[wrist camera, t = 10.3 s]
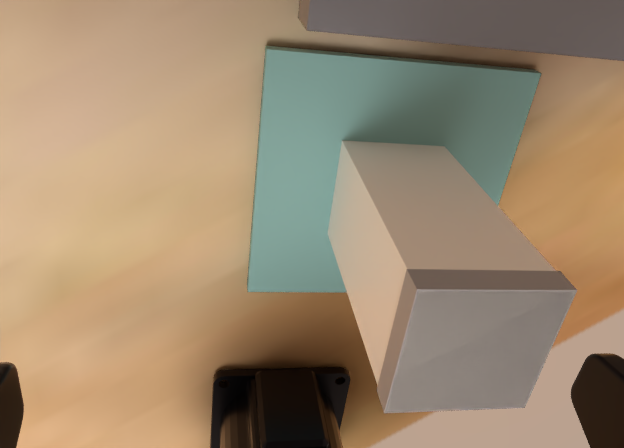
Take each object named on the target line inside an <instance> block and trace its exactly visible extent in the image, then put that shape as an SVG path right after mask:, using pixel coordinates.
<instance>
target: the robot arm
mask: <svg viewBox="0 0 624 448" xmlns="http://www.w3.org/2000/svg"><path fill="white" fill-rule="evenodd" d="M339 377H341V378H339ZM337 378H338V379H337ZM222 380H227V381H222ZM349 384H350V376H349V372H348V370H347V369H345V368H342V367H328V368H282V369H235V370H220V371H218V372H217V373H216V374H215V375H214V377H213V397H212V420H211V442H210V448H343V446H342V442H341V437H340V433H339V430H340V426H341V421H342V416H343V412H344V407H345V403H346V398H347V393H348V389H349ZM571 399H572V403H573V405H574V408H575V410H576V413H577V415H578V418H579V420H580V423H581V425H582V428H583V430H584V433H585V435H586V438H587V440H588V443H589V445H590V448H624V359H623V358H621V357H619V356H617V355H615V354H591V355H590V356H588V357H587V358H586V360H585V362H584V364H583V366H582V368H581V370H580V372H579V374H578V376H577V378H576V380H575V382H574V384H573V386H572V389H571ZM23 412H24V404H23V398H22V393H21V388H20V383H19V377H18V372H17V369H16V367H15V365H14V364H12V363H9V362H4V363H0V448H16V446H17V442H18V437H19V433H20V429H21V424H22V420H23Z"/></svg>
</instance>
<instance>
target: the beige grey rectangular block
mask: <svg viewBox="0 0 624 448" xmlns="http://www.w3.org/2000/svg"><path fill="white" fill-rule="evenodd" d="M328 236H329V239H330V242H331V245H332V249H333V252H334V255H335V258H336V261H337V264H338V267H339V270H340V273H341V276H342V279H343V282H344V285H345V288H346V291H347V294H348V297H349V300H350V303H351V306H352V309H353V312H354V315H355V319H356V322H357V325H358V328H359V331H360V334H361V337H362V340H363V343H364V346H365V349H366V352H367V355H368V358H369V361H370V364H371V367H372V370H373V373H374V376H375V379H376V382H377V393H378V396H379V399H380V402H381V406H382V409H383V412H384V413H404V412H429V411H453V410H454V411H455V410H479V409H506V408H525V406H526V403H527V401H528V399H529V397H530V395H531V393H532V390H533V388H534V385H535V383H536V381H537V379H538V377H539V375H540V372H541V370H542V368H543V365H544V363H545V361H546V359H547V357H548V354H549V352H550V350H551V348H552V346H553V343H554V341H555V339H556V337H557V334H558V332H559V330H560V328H561V325H562V323H563V321H564V319H565V316H566V314H567V312H568V310H569V307H570V305H571V303H572V301H573V299H574V296H575V294H576V292H577V289H576V288H575V287H574V286H573V285H572V284H571V283H570V282H569V281H568V279H567V278H566V277H565V276H564V275H563V274H562V273H561V272H560V271H556V270H555V269H554V268H553V267H552V266H551V265H550V264H549V263H548V262H547V260H546V259H545V258H544V257H543V256H542V255H541V254H540V253H539V251H538V250H537V249H536V248H535V247H534V246H533V245H532V244H531V243H530V241H529V240H528V239H527V238H526V237H525V236H524V235H523V234H522V232H521V231H520V230H519V229H518V228H517V227H516V226H515V225H514V224H513V222H512V221H511V220H510V219H509V218H508V217H507V216H506V215H505V213H504V212H503V211H502V210H501V209H500V208H499V207H498V206H497V205H496V203H495V202H494V201H493V200H492V199H491V198H490V197H489V196H488V194H487V193H486V192H485V191H484V190H483V189H482V188H481V187H480V186H479V184H478V183H477V182H476V181H475V180H474V179H473V178H472V177H471V175H470V174H469V173H468V172H467V171H466V170H465V169H464V168H463V167H462V165H461V164H460V163H459V162H458V161H457V160H456V159H455V158H454V157H453V155H452V154H451V153H450V152H449V151H448V150H447V149H446V148H445V146H431V145H413V144H396V143H378V142H361V141H343V140H342V144H341V150H340V157H339V163H338V170H337V176H336V182H335V189H334V195H333V202H332V208H331V214H330V221H329V227H328Z"/></svg>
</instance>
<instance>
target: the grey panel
mask: <svg viewBox="0 0 624 448" xmlns="http://www.w3.org/2000/svg"><path fill="white" fill-rule="evenodd" d="M298 18H299V20H300V21H301V23H302V24H303V26H304V27H305V29H306V30H307V31H317V32H328V33H338V34H348V35H359V36H369V37H380V38H390V39H401V40H411V41H421V42H432V43H442V44H453V45H463V46H474V47H484V48H495V49H505V50H515V51H526V52H536V53H547V54H557V55H568V56H578V57H588V58H599V59H609V60H620V61H624V0H300V4H299V14H298Z"/></svg>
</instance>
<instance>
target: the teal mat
mask: <svg viewBox="0 0 624 448" xmlns="http://www.w3.org/2000/svg"><path fill="white" fill-rule="evenodd" d="M540 76H541V73H540V72H538V71H536V70H533V69H522V68H511V67H500V66H488V65H477V64H466V63H455V62H444V61H432V60H421V59H410V58H399V57H388V56H376V55H365V54H354V53H343V52H332V51H320V50H309V49H298V48H287V47H276V46H266V47H265V60H264V73H263V86H262V99H261V112H260V124H259V137H258V150H257V163H256V176H255V189H254V202H253V215H252V228H251V241H250V254H249V267H248V279H247V290H248V292H347V291H346V288H345V285H344V282H343V279H342V276H341V273H340V270H339V267H338V264H337V261H336V258H335V255H334V252H333V249H332V245H331V242H330V239H329V236H328V227H329V221H330V214H331V208H332V202H333V195H334V189H335V182H336V176H337V170H338V163H339V157H340V150H341V144H342V140H343V141H361V142H378V143H396V144H413V145H431V146H445V148H446V149H447V150H448V151H449V152H450V153H451V154H452V155H453V157H454V158H455V159H456V160H457V161H458V162H459V163H460V164H461V165H462V167H463V168H464V169H465V170H466V171H467V172H468V173H469V174H470V175H471V177H472V178H473V179H474V180H475V181H476V182H477V183H478V184H479V186H480V187H481V188H482V189H483V190H484V191H485V192H486V193H487V194H488V196H489V197H490V198H491V199H492V200H493V201H494V202H495V203H496V205H497V206H498V204H499V201H500V198H501V195H502V192H503V189H504V186H505V183H506V180H507V177H508V174H509V171H510V168H511V164H512V161H513V158H514V155H515V152H516V149H517V146H518V143H519V140H520V137H521V134H522V131H523V128H524V125H525V122H526V119H527V116H528V113H529V110H530V107H531V104H532V101H533V97H534V94H535V91H536V88H537V85H538V82H539V79H540Z"/></svg>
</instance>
